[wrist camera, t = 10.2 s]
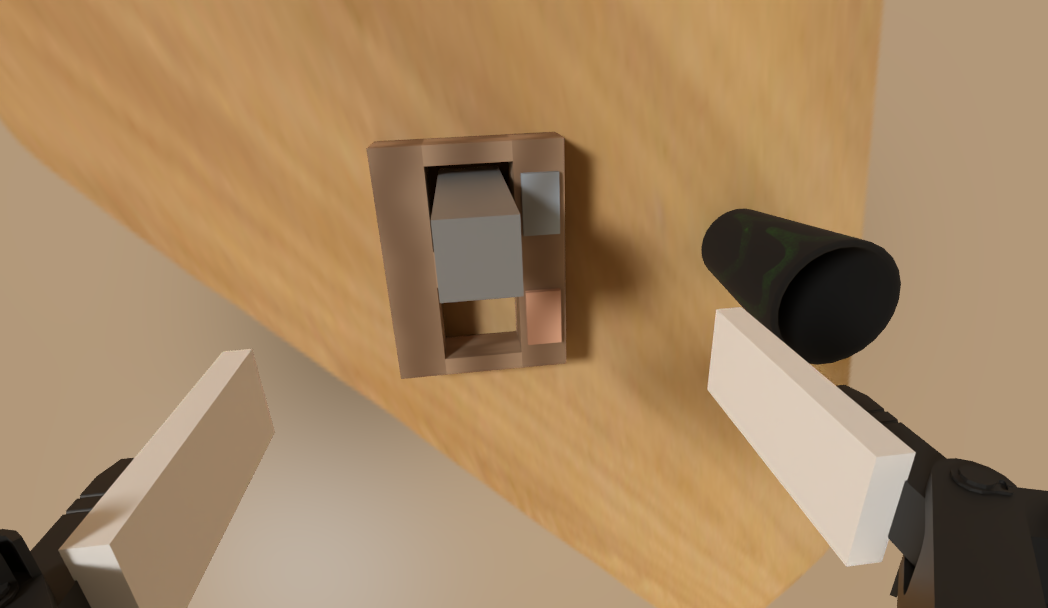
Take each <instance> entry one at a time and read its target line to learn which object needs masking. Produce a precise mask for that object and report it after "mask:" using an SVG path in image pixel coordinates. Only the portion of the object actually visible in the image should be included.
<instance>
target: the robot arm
mask: <svg viewBox="0 0 1048 608" xmlns="http://www.w3.org/2000/svg"><path fill="white" fill-rule="evenodd" d="M707 390H708V391H709V392H710V393H711V395H712V396H713V397H714V399H715V400H716V401H717V402H718V404H719V405H720V406H721V407H722V409H723V410H724V411H725V413H726V414H727V415H728V416H729V418H730V419H731V420H732V422H733V423H734V424H735V425H736V427H737V428H738V429H739V430H740V432H741V433H742V434H743V436H744V437H745V438H746V439H747V441H748V442H749V443H750V444H751V446H752V447H753V448H754V450H755V451H756V452H757V453H758V455H759V456H760V457H761V458H762V460H763V461H764V462H765V464H766V465H767V466H768V467H769V469H770V470H771V471H772V472H773V474H774V475H775V476H776V478H777V479H778V480H779V481H780V483H781V484H782V485H783V486H784V488H785V489H786V490H787V492H788V493H789V494H790V495H791V497H792V498H793V499H794V501H795V502H796V503H797V504H798V506H799V507H800V508H801V509H802V511H803V512H804V513H805V515H806V516H807V517H808V518H809V520H810V521H811V522H812V523H813V525H814V526H815V527H816V529H817V530H818V531H819V532H820V534H821V535H822V536H823V537H824V539H825V540H826V541H827V543H828V544H829V545H830V546H831V548H832V549H833V550H834V551H835V553H836V554H837V555H838V557H839V558H840V559H841V560H842V562H843V563H844V564H845V565H846V566H854V565H861V564H869V563H877V562H882V559H883V556H884V553H885V550H886V547H887V543H888V540H889V539H890V540H891V541H892V543H894V544H895V546H896V547H897V548H898V549H899V550H900V551H901V552H902V553H903V557H902V560H901V563H900V566H899V569H898V572H897V575H896V578H895V581H894V584H893V587H892V590H891V593H890V595H892V596H894V597H897V596H898V600H897V608H1048V491H1042V490H1034V489H1026V488H1017V487H1016V485H1015V484H1014V483H1012V482H1011V481H1010V480H1009V479H1008V478H1006V477H1005V476H1004V475H1002V474H1000V473H999V472H997V471H995V470H993V469H991V468H989V467H987V466H984V465H981V464H978V463H976V462H973V461H968V460H962V459H957V458H955V459H946V458H945V457H944V456H943V455H941V454H940V453H939V452H938V451H936V450H935V449H934V448H932V447H931V446H930V445H929V444H928V443H926V442H925V441H924V440H922V439H921V438H920V437H919V436H918V435H916V434H915V433H914V432H912V431H911V430H910V429H909V428H907V427H906V426H905V425H904V424H902V423H898V420H897V419H896V418H895V417H893V416H892V415H891V414H890V413H888V412H885V411H884V409H883V408H882V407H881V406H880V405H878V404H877V403H876V402H875V401H873V400H872V399H871V398H870V397H868V396H867V395H865V394H863V393H860V392H859V391H857V390H854V389H852V388H850V387H848V386H846V385H839V386H835V385H834V384H833V383H832V382H831V381H829V380H828V379H827V378H826V377H825V376H823V375H822V374H821V373H820V372H819V371H817V370H816V369H815V368H814V367H813V366H811V365H810V364H809V363H808V362H807V361H805V360H804V359H803V358H802V357H801V356H799V355H798V354H797V353H796V352H795V351H793V350H792V349H791V348H790V347H789V346H787V345H786V344H785V343H784V342H783V341H781V340H780V339H779V338H778V337H777V336H775V335H774V334H773V333H772V332H771V331H769V330H768V329H767V328H766V327H765V326H763V325H762V324H761V323H760V322H759V321H757V320H756V319H755V318H754V317H753V316H751V315H750V314H749V313H748V312H747V311H745V310H744V309H743V308H742V307H738V308H726V309H716V318H715V326H714V335H713V344H712V353H711V361H710V370H709V379H708V388H707ZM274 433H275V431H274V427H273V423H272V420H271V416H270V413H269V409H268V405H267V402H266V398H265V394H264V390H263V387H262V384H261V380H260V376H259V372H258V368H257V365H256V361H255V358H254V354H253V350H252V349H246V350H235V351H223V352H222V353H221V354H220V355H219V357H218V358H217V359H216V360H215V361H214V363H213V364H212V365H211V366H210V368H209V369H208V370H207V371H206V372H205V374H204V375H203V376H202V377H201V379H200V380H199V381H198V382H197V383H196V384H195V386H194V387H193V388H192V390H190V392H189V393H188V394H187V395H186V396H185V398H184V399H183V400H182V401H181V403H180V404H179V405H178V406H177V407H176V409H175V410H174V411H173V412H172V413H171V415H170V416H169V417H168V418H167V419H166V421H165V422H164V423H163V424H162V426H161V427H160V428H159V429H158V430H157V432H156V433H155V434H154V435H153V436H152V437H151V439H150V440H149V441H148V442H147V444H146V445H145V446H144V447H143V448H142V450H141V451H140V452H139V453H138V454H137V456H136V457H135V458H128V459H121V460H119V461H118V462H116V463H115V464H114V465H112V466H111V467H109V468H108V469H106V470H105V471H104V472H102V473H101V474H99V475H98V476H97V477H96V478H95V479H94V480H93V481H92V482H91V484H90V485H89V486H88V487H87V488H86V489H85V490H84V491H83V492H82V494H81V495H80V499H77V500H75V502H74V503H73V504H72V505H71V506H70V507H69V508H68V509H67V511H66V515H62V516H61V518H60V519H59V520H58V521H57V522H56V523H55V524H54V525H53V526H52V528H51V529H50V530H49V531H48V532H47V533H46V534H45V536H44V537H43V538H42V539H41V540H40V541H39V542H38V543H37V545H36V546H35V547H34V548H33V549H32V550H31V551H29V549H28V547H27V545H26V543H25V541H24V540H23V538H22V536H21V535H20V534H19V533H18V532H17V531H14V530H5V529H1V530H0V608H187V607H188V604H189V602H190V601H191V599H192V597H193V595H194V593H195V591H196V589H197V587H198V585H199V583H200V581H201V579H202V577H203V575H204V573H205V571H206V569H207V567H208V565H209V563H210V561H211V559H212V557H213V555H214V553H215V551H216V549H217V547H218V545H219V543H220V540H221V539H222V537H223V535H224V532H225V531H226V529H227V527H228V525H229V523H230V521H231V519H232V517H233V515H234V513H235V511H236V509H237V507H238V505H239V503H240V501H241V499H242V497H243V495H244V493H245V491H246V489H247V487H248V485H249V483H250V481H251V479H252V477H253V475H254V473H255V471H256V469H257V467H258V465H259V463H260V461H261V459H262V457H263V455H264V453H265V451H266V449H267V447H268V445H269V443H270V441H271V439H272V437H273V435H274Z"/></svg>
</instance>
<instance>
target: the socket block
mask: <svg viewBox="0 0 1048 608" xmlns="http://www.w3.org/2000/svg"><path fill="white" fill-rule="evenodd" d="M367 155H368V162H369V168H370V175H371V182H372V188H373V195H374V202H375V208H376V215H377V222H378V228H379V235H380V242H381V248H382V255H383V261H384V268H385V275H386V281H387V288H388V295H389V301H390V308H391V315H392V321H393V328H394V335H395V341H396V348H397V355H398V361H399V368H400V375H401V379H405V378H415V377H426V376H437V375H447V374H458V373H468V372H479V371H490V370H500V369H511V368H522V367H532V366H543V365H554V364H564V363H566V284H565V178H564V137H562V136H561V135H559V134H557V133H556V132H543V133H525V134H506V135H488V136H469V137H451V138H432V139H413V140H395V141H376V142H373V143H372V144H371V145H370V146H369V147H368V148H367ZM492 162H508V167H509V187H510V193H511V195H512V197H513V200H514V202H515V204H516V206H517V208H518V210H519V213H520V219H521V242H522V266H523V289H524V296H521V297H515V308H516V328H517V331H513V332H502V333H490V334H479V335H467V336H456V337H446V334H445V325H444V316H443V307H442V303H440V300H439V291H438V282H437V273H436V264H435V255H434V246H433V237H432V228H431V215H432V205H431V196H430V187H429V178H428V168H427V166H441V165H458V164H475V163H492Z"/></svg>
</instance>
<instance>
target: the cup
mask: <svg viewBox="0 0 1048 608" xmlns="http://www.w3.org/2000/svg"><path fill="white" fill-rule="evenodd" d="M702 258H703V261H704V264H705V265H706V267H707V268H708V270H709V271H710V272H711V273H712V274H713V275H714V276H715V277H716V278H717V279H718V281H719V282H720V283H721V284H722V285H723V286H724V287H725V288H726V289H727V290H728V292H729V293H730V294H731V295H732V296H733V297H734V298H735V299H736V300H737V301H738V303H739V304H740V305H741V306H742V307H743V308H744V309H745V310H746V311H747V312H748V313H749V314H750V315H751V316H753V317H754V318H755V319H756V320H757V321H759V322H760V323H761V324H762V325H763V326H765V327H766V328H767V329H768V330H769V331H771V332H772V333H773V334H774V335H775V336H777V337H778V338H779V339H780V340H781V341H783V342H784V343H785V344H786V345H787V346H789V347H790V348H791V349H792V350H793V351H795V352H796V353H797V354H798V355H799V356H801V357H802V358H803V359H804V360H805V361H807V362H808V363H809V364H826V363H833V362H836V361H839V360H842V359H845V358H848V357H850V356H852V355H853V354H855V353H857V352H859V351H861V350H862V349H864V348H865V347H866V346H867V345H869V344H870V343H871V342H872V341H874V340H875V339H876V338H877V336H878V335H879V334H880V333H881V332H882V331H883V330H884V329H885V327H886V326H887V324H888V322H889V321H890V319H891V317H892V316H893V314H894V311H895V309H896V306H897V303H898V300H899V293H900V286H901V282H900V275H899V270H898V267H897V265H896V263H895V261H894V260H893V258H892V256H891V255H890V254H889V253H888V252H886V250H885V249H884V248H882V247H880V246H878V245H876V244H874V243H872V242H868V241H865V240H862V239H858V238H854V237H850V236H847V235H843V234H839V233H836V232H832V231H828V230H824V229H821V228H817V227H813V226H810V225H806V224H802V223H799V222H795V221H791V220H787V219H784V218H780V217H776V216H773V215H769V214H765V213H762V212H758V211H754V210H749V209H736V210H732V211H729V212H727V213H725V214H723V215H722V216H720V217H719V218H718V219H717V220H715V221H714V222H713V223H712V225H711V226H710V227H709V229H708V230H707V232H706V234H705V236H704V238H703V243H702Z"/></svg>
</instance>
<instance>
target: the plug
mask: <svg viewBox="0 0 1048 608" xmlns="http://www.w3.org/2000/svg"><path fill="white" fill-rule="evenodd" d="M431 228H432V237H433V246H434V255H435V264H436V273H437V282H438V291H439V300H440V303H448V302H460V301H472V300H485V299H497V298H509V297H521V296H524V289H523V266H522V242H521V219H520V213H519V210H518V208H517V206H516V204H515V202H514V200H513V197H512V195H511V193H510V191H509V189H508V187H507V185H506V182H505V180H504V178H503V176H502V174H501V172H500V169H499V167H498V165H497V166H480V167H463V168H446V169H439V172H438V178H437V184H436V190H435V197H434V203H433V209H432V215H431Z"/></svg>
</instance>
